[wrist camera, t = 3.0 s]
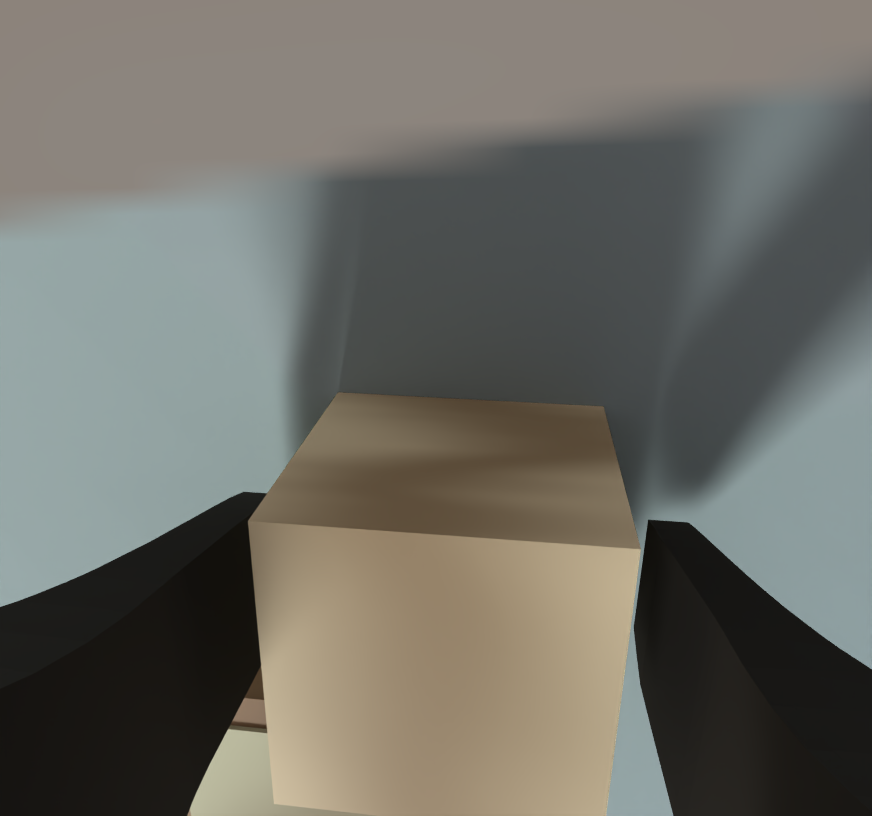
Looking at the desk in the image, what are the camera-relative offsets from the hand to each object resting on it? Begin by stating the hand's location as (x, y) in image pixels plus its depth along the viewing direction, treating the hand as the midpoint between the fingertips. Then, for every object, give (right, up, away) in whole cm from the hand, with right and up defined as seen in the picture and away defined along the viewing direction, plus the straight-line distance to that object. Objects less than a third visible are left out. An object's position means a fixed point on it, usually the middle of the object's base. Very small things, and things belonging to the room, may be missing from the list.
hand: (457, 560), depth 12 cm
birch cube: (0, +1, +1) cm, 2 cm away
